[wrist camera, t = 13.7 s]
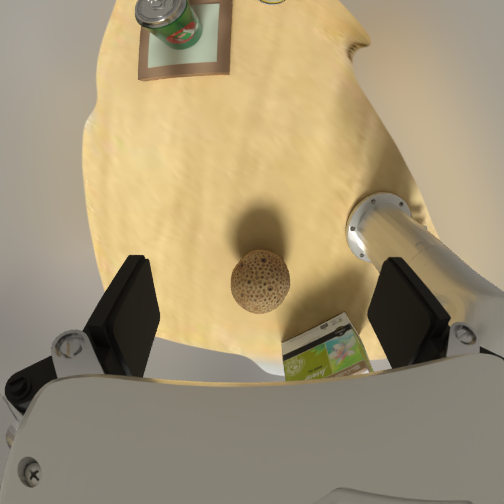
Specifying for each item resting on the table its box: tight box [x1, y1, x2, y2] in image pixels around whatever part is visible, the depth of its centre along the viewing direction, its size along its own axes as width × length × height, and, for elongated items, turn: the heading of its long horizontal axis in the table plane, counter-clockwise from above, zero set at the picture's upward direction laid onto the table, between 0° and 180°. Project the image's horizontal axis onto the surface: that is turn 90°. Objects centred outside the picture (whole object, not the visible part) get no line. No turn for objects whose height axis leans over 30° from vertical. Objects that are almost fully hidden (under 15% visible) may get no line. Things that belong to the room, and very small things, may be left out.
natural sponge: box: [231, 249, 290, 314], centre depth 41 cm, size 9×9×10 cm
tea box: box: [281, 312, 374, 381], centre depth 49 cm, size 15×10×15 cm, turn 124°
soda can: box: [135, 0, 202, 50], centre depth 20 cm, size 5×5×12 cm
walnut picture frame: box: [138, 0, 233, 81], centre depth 27 cm, size 12×12×3 cm
